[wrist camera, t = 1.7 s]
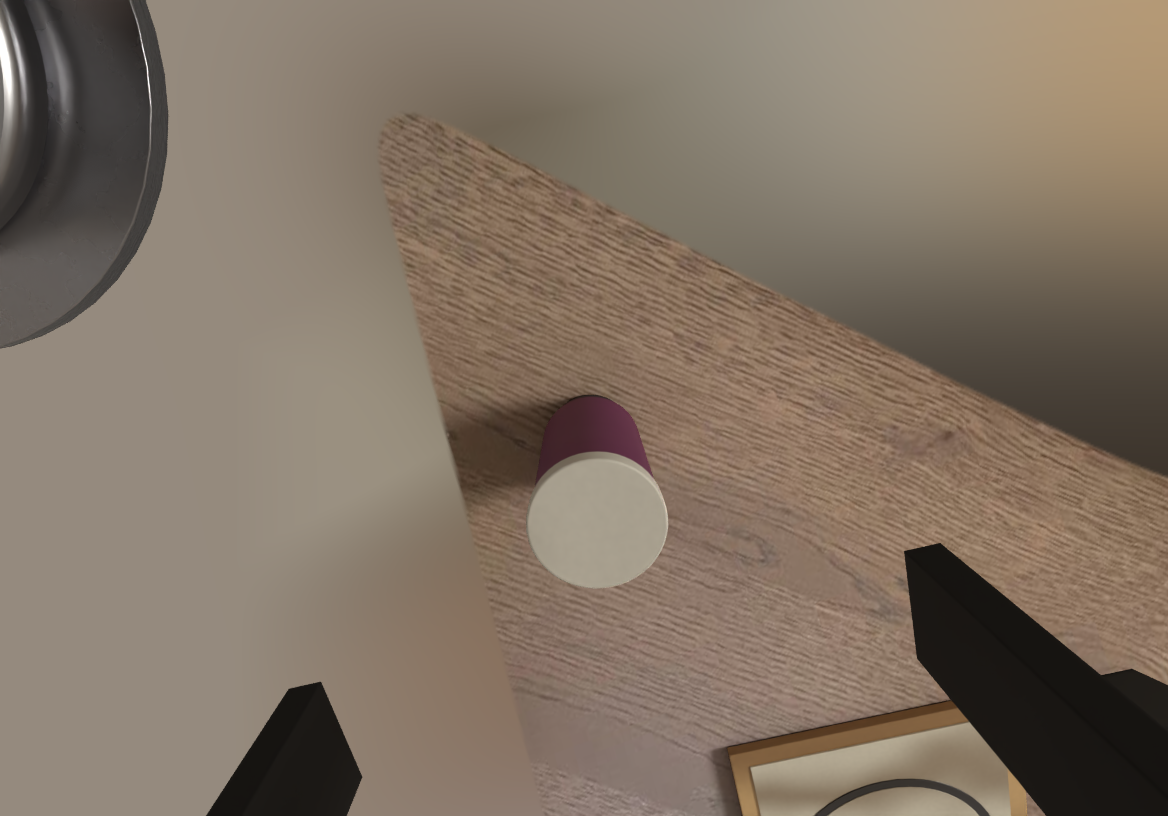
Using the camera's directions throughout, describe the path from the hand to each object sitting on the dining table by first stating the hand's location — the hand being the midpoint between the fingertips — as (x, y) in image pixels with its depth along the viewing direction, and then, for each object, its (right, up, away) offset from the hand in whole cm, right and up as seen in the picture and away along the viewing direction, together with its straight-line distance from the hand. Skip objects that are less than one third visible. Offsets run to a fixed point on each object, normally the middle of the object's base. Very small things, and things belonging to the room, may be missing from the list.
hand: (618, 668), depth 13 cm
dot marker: (0, +5, +16) cm, 16 cm away
